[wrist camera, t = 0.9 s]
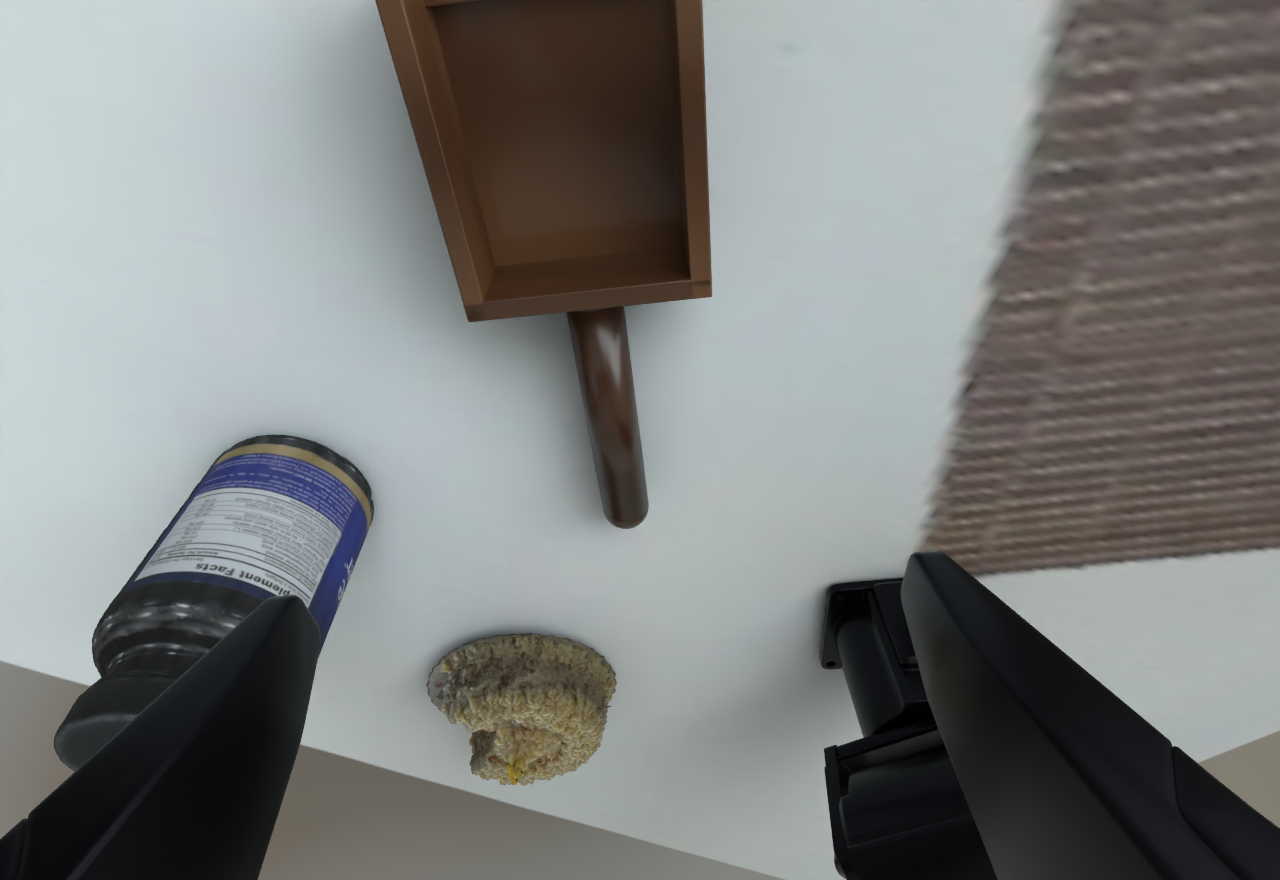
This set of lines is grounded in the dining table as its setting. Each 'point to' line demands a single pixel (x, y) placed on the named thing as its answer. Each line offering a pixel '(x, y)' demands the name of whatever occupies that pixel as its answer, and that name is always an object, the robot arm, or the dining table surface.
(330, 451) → the pill bottle
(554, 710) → the cake
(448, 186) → the scoop
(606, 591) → the dining table surface
